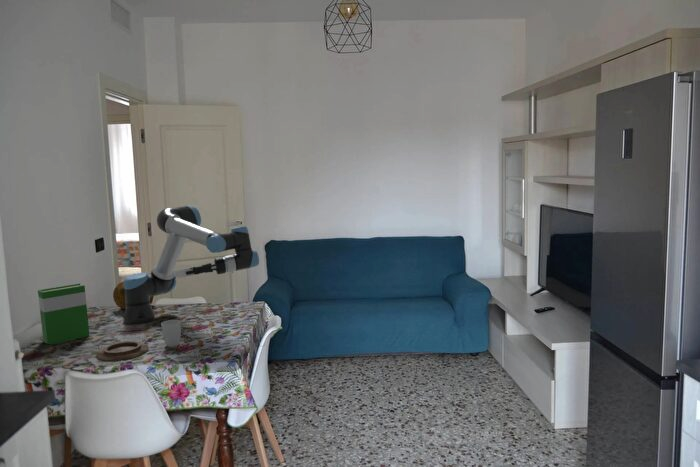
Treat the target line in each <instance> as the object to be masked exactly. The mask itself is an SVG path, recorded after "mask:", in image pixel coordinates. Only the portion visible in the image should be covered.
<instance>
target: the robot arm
mask: <svg viewBox="0 0 700 467" xmlns="http://www.w3.org/2000/svg"><path fill="white" fill-rule="evenodd" d="M201 217H202V216H201V213H200V210H199V209H197V207H195V206H193V205H183V206H182V205H181V206H174V207H165V208H164V209H162V210H161V211H159V213H158V214H157V217H156V224H157V226H158V228H159V230H161V231H162V232H164V233H166V234H168V235H167V238H166V241H165V243H164V246H163V248H162V251H161V254H160V257H159V259H158V262H157V264H156V265H154V266H153V267H152V269H151V272H150V274H148V273H146V272H138V273H133V274H130V275H128V276H126V277H125V278H124V279H123V281H124V292H125V302H126V308H125V309H124V313H123V319H122V320H123V324H125V325H126V324H127V325H138V324H139V325H140V324H144V323H148V322H152V321H154V320H155V319H156V315H155V311H154V309H153V307H152V305H151V304H152V303H151V304H150V297H152V296H154V297H156V296H160V295H164V294H167V293H169V292H172V291H173V290H174V289H175V287H176V285H177V280H176V279H177V278H178V279H180V278H184V277H185V278H186V277H190V276H191V277H192V276H194V275H200V274H204V273H205V274H208V273H213V272H214V271H215V272H216V274H217V275H222V274H226V273H231V274H233V273H234V272H237V271H241V270H246V269H250V268H251V269H252V268H255V267H258V266H259V265H260V264H259V263H260V257H259V255H258V251H257V250H253V249H252V245H251V239H250V234H249V230H248V227H247V226H246V225H245V226H244V225H243V226H238V227H233V228H231V229H230V232H227V233H219V232H216V231H214V230H211V229H210V228H209V229H208V228H206V227H203V226H201V224H202V218H201ZM186 240H189V241H192V242H195V243H197V244H200V245H202V246H204V247H206V248H207V250H209V252H210V253H213V254H215V253H223V252H227V251H230V250H234V252H235V254H230V255H224V256H220V257H216V258H214V263H212V262H209V263H206V264H202V265H201V266H193V267H189V268H185V269H180V270H175V268H176V265H177V262H178V260H179V257H180V255H181V252H182V250H183V248H184V245H185V242H186ZM174 270H175V271H174Z"/></svg>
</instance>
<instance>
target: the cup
mask: <svg viewBox="0 0 700 467" xmlns="http://www.w3.org/2000/svg"><path fill="white" fill-rule="evenodd" d="M160 325H161V330H162V331H161V332H162V333H161V334H162V336H163V339H164V343H165V345H166V347H169V348H171V347H176V346H179V345H180V342H181V336H182V334H181V333H182V321H181V320H180V319H170V320H164V321H162V322H161V323H160Z"/></svg>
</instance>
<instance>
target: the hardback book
mask: <svg viewBox="0 0 700 467" xmlns="http://www.w3.org/2000/svg"><path fill="white" fill-rule="evenodd" d="M37 295H38V305H39V312H40V321H41V322H40V323H41V331H42V332H41V333H42V340H43V341H44V342H46V343H47V344H51V345H55V344H59V343H64V342H67V341H73V340H77V339H81V338H86V337H89V336H91V335H90V328H89V318H88V317H89V316H88V306H87V296H86V285H84V284H83V285H81V283H73V284H68V285H67V284H66V285H61V286H56V287H49V288H43V289H37ZM44 342H43V343H44ZM46 343H45V344H46ZM54 343H55V344H54ZM47 344H46V345H47Z"/></svg>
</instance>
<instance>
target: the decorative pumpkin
mask: <svg viewBox="0 0 700 467" xmlns="http://www.w3.org/2000/svg"><path fill="white" fill-rule="evenodd" d="M112 294H113V295H112V296H113V301H114V304H115V305H116V306H117V308H120V309H121V310H125V308H126V302H125V292H124V280H122V281H121V282H119V283H118V284H117V285H116V286H115V288H114V290H113V293H112ZM154 297H155V296H152V297H150V304H153V300H154Z"/></svg>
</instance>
